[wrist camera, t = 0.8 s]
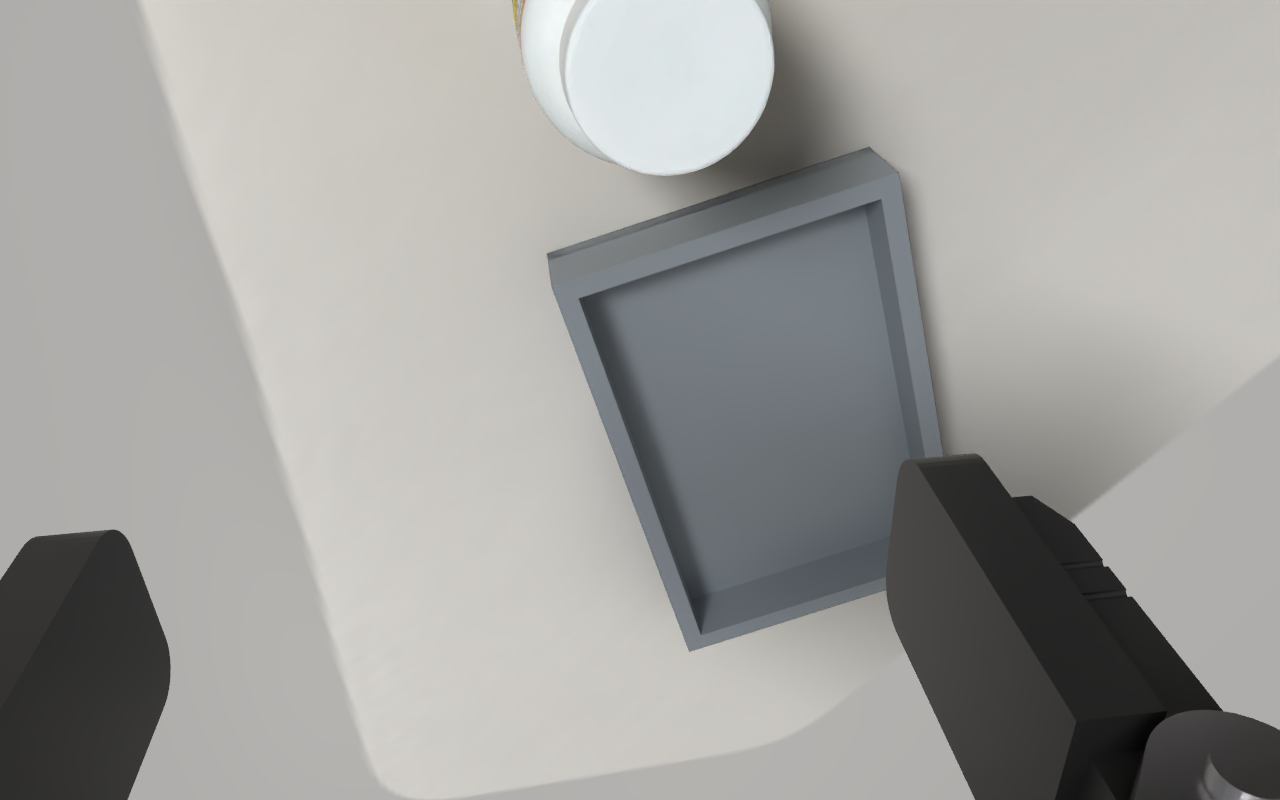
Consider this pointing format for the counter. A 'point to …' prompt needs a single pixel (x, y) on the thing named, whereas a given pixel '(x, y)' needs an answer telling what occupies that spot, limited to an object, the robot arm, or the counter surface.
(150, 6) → the counter surface
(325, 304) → the counter surface
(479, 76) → the counter surface
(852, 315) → the tray
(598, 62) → the supplement bottle
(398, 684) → the counter surface
